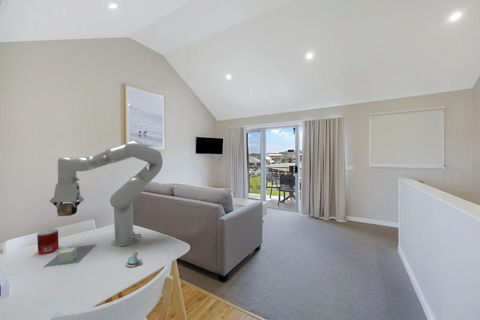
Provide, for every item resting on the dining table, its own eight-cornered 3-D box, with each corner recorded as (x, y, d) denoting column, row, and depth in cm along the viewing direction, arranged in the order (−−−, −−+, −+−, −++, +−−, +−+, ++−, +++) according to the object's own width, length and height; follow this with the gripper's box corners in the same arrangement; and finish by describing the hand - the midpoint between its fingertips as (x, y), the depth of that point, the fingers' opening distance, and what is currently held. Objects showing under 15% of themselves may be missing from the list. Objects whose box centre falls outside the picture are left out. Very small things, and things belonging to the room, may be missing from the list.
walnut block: (76, 212, 110) (76, 202, 110) (70, 215, 105) (70, 205, 105) (64, 213, 109) (64, 203, 109) (58, 216, 104) (58, 205, 103)
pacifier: (131, 270, 90) (143, 263, 94) (130, 256, 89) (142, 250, 94) (122, 265, 94) (135, 258, 99) (121, 252, 93) (134, 246, 98)
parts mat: (97, 244, 114) (97, 244, 114) (78, 263, 95) (78, 262, 95) (68, 247, 111) (68, 247, 111) (42, 268, 91) (42, 267, 91)
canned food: (62, 248, 110) (61, 228, 110) (47, 255, 102) (46, 234, 102) (50, 247, 111) (49, 228, 111) (34, 255, 103) (33, 234, 103)
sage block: (77, 256, 100) (76, 247, 100) (71, 262, 95) (71, 251, 95) (65, 258, 99) (65, 248, 99) (59, 263, 94) (58, 253, 94)
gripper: (89, 179, 112) (89, 211, 113) (52, 179, 108) (52, 213, 108) (82, 181, 105) (82, 215, 105) (42, 181, 101) (42, 217, 101)
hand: (67, 213), depth 107 cm, fingers closed on walnut block, 5 cm apart
